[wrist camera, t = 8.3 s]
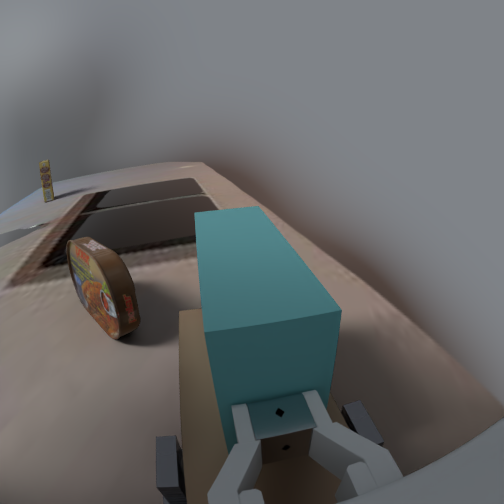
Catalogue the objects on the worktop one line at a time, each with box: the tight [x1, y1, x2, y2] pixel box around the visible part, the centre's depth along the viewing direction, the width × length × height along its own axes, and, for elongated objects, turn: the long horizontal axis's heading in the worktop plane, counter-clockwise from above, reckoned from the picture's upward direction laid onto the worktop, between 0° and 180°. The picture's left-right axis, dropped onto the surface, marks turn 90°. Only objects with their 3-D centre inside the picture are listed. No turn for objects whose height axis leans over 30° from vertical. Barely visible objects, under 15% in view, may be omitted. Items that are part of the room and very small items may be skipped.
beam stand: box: [156, 400, 384, 504], centre depth 18 cm, size 12×16×5 cm
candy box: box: [39, 160, 54, 202], centre depth 97 cm, size 9×4×15 cm, turn 36°
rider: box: [195, 206, 342, 454], centre depth 16 cm, size 4×12×8 cm, turn 11°
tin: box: [67, 237, 140, 339], centre depth 30 cm, size 15×3×8 cm, turn 47°
